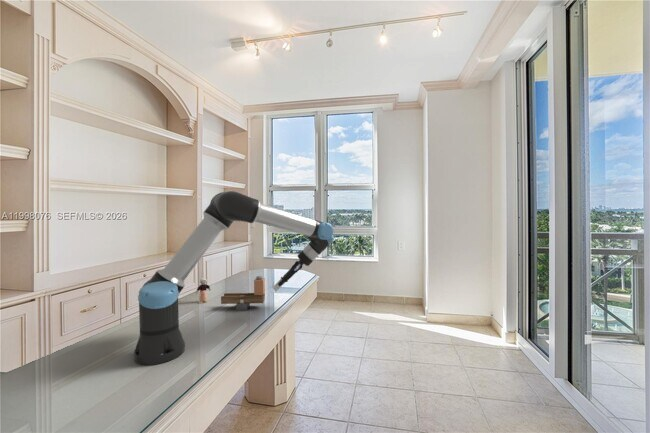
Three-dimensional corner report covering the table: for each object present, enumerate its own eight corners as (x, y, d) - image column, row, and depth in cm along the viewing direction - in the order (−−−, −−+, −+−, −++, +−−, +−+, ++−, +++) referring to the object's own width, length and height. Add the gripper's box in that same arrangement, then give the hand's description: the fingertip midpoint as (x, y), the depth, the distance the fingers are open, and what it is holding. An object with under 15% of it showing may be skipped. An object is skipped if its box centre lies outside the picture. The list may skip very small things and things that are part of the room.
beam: (262, 309, 146) (262, 296, 146) (220, 310, 146) (220, 296, 146) (265, 305, 153) (264, 292, 153) (225, 305, 153) (225, 292, 153)
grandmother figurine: (199, 304, 155) (198, 279, 154) (195, 303, 157) (194, 278, 157) (212, 300, 161) (212, 277, 160) (208, 299, 163) (208, 276, 163)
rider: (263, 298, 147) (263, 277, 147) (254, 298, 147) (254, 277, 147) (264, 295, 152) (264, 275, 151) (256, 295, 152) (255, 275, 151)
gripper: (313, 263, 143) (278, 298, 143) (313, 258, 156) (281, 290, 156) (301, 252, 143) (266, 287, 143) (303, 248, 156) (271, 280, 156)
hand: (274, 289), depth 150 cm, fingers closed
